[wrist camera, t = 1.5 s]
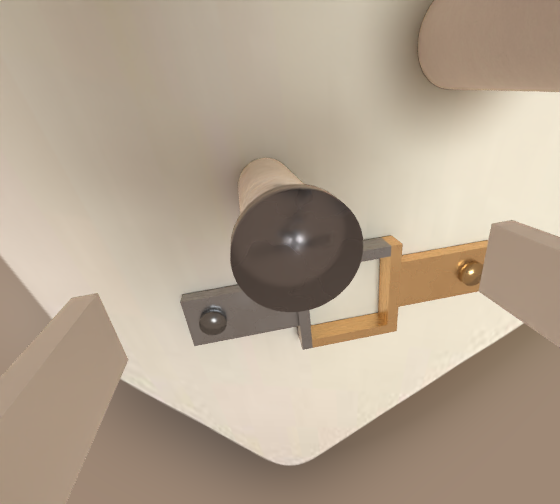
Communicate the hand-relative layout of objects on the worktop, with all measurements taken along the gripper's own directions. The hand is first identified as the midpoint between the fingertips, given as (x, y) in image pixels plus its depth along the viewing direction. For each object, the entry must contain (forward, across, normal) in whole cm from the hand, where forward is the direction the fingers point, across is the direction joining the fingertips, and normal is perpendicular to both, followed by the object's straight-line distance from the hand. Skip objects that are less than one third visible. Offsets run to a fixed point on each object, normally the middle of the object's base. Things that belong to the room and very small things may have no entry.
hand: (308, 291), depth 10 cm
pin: (+15, 0, 0) cm, 15 cm away
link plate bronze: (+15, +12, -11) cm, 22 cm away
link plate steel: (+15, +1, -11) cm, 19 cm away
